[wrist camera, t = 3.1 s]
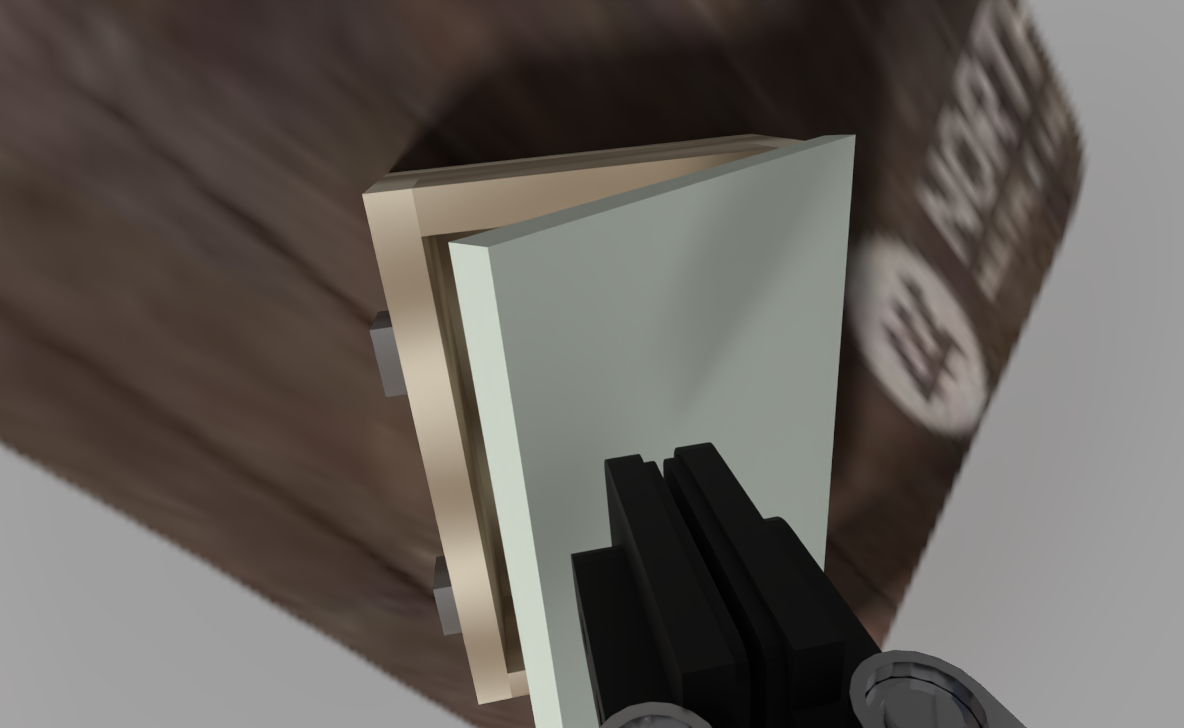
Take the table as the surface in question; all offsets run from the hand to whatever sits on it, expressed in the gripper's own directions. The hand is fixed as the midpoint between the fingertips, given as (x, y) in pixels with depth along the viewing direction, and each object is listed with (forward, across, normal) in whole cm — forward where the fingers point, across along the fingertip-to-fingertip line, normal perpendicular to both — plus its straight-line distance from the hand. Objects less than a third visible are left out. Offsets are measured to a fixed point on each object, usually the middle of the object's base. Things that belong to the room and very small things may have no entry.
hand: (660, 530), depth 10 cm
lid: (+5, -2, +4) cm, 7 cm away
